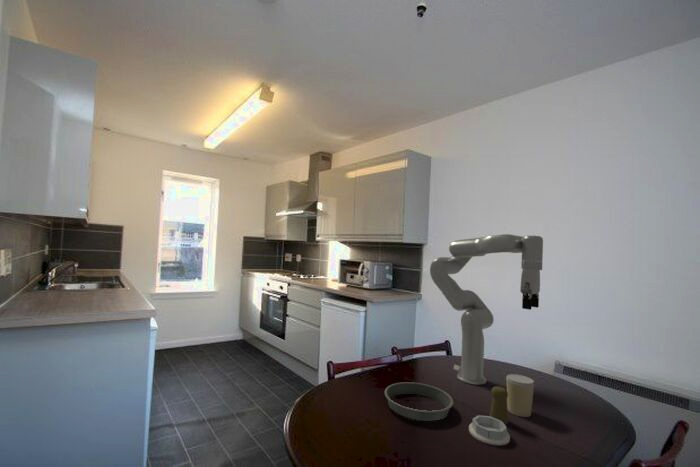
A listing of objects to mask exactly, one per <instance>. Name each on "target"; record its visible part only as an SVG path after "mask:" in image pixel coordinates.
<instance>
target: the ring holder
mask: <svg viewBox="0 0 700 467" xmlns="http://www.w3.org/2000/svg"><path fill="white" fill-rule="evenodd" d="M468 432H469V434H470V435H471V436H472V437H473V438H474V439H476V440H478V441H479V442H482V443H483V444H488V445H491V446H500V447H501V446H506V445H508V444H509V443H510V440H511V435H510V433H509V432H508V428H507V426H506V425H505V424H504V423H503V422H502V421H500V420H498V419H495V418H493V417H490V415H479V414H478V415H476V416H475V417H473V418H472V421H471V423H470V424H469V425H468Z"/></svg>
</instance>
